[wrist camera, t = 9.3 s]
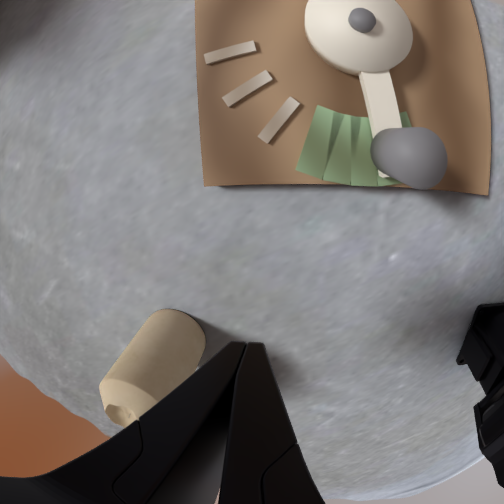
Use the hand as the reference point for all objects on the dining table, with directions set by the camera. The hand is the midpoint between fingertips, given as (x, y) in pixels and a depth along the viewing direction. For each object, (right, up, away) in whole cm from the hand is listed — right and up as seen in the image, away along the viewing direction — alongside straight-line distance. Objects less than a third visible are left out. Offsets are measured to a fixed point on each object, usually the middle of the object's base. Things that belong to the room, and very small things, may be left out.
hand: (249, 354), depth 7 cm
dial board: (+6, +16, +6) cm, 18 cm away
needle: (+7, +13, +6) cm, 15 cm away
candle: (-6, -4, +17) cm, 19 cm away
